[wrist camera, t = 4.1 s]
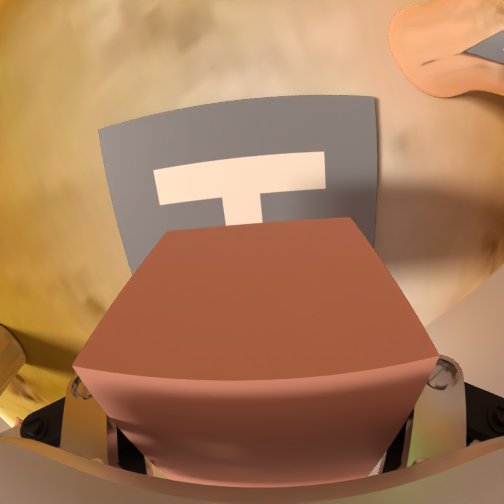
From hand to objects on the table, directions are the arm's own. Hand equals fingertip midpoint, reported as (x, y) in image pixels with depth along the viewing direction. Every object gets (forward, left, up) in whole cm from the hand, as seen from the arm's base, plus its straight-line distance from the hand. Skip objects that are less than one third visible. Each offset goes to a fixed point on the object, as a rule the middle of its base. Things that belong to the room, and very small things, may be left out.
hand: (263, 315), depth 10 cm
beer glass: (-11, -11, -8) cm, 17 cm away
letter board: (+1, 0, -7) cm, 7 cm away
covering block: (0, 0, -1) cm, 1 cm away
